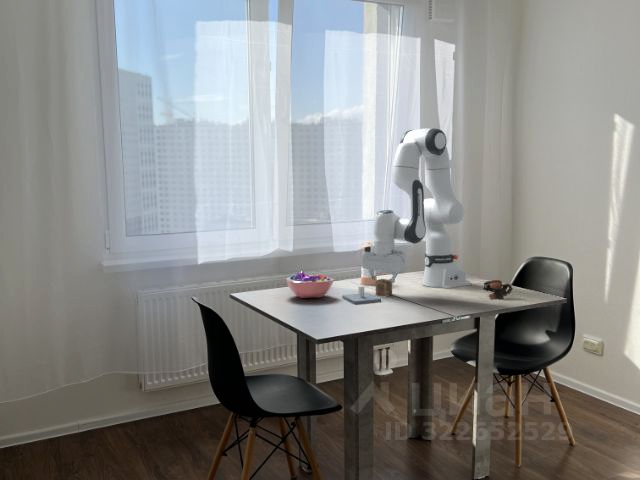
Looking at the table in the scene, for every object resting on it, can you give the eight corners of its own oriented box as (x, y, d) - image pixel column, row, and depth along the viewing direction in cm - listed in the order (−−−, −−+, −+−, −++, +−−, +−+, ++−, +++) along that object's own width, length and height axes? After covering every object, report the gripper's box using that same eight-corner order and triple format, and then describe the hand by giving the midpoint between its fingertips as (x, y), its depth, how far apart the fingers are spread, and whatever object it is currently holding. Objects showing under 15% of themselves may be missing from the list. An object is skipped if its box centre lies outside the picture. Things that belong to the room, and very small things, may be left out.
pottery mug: (483, 300, 264) (479, 281, 267) (487, 306, 272) (484, 287, 275) (512, 295, 259) (509, 275, 263) (516, 300, 267) (512, 282, 271)
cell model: (329, 303, 258) (329, 275, 256) (281, 301, 262) (281, 274, 260) (337, 294, 274) (337, 268, 272) (291, 292, 278) (291, 266, 276)
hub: (368, 295, 271) (368, 282, 270) (381, 301, 260) (381, 287, 259) (342, 298, 267) (342, 284, 266) (354, 304, 256) (354, 290, 255)
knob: (382, 292, 276) (382, 277, 275) (392, 294, 273) (392, 278, 272) (375, 294, 272) (375, 279, 271) (385, 296, 269) (386, 280, 268)
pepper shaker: (376, 282, 299) (377, 241, 296) (376, 285, 291) (376, 243, 289) (361, 281, 299) (361, 241, 297) (360, 285, 292) (360, 243, 290)
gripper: (409, 250, 266) (407, 283, 268) (368, 245, 278) (367, 277, 280) (401, 252, 261) (399, 285, 263) (359, 247, 274) (358, 279, 275)
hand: (382, 281), depth 272 cm, fingers open, 8 cm apart
